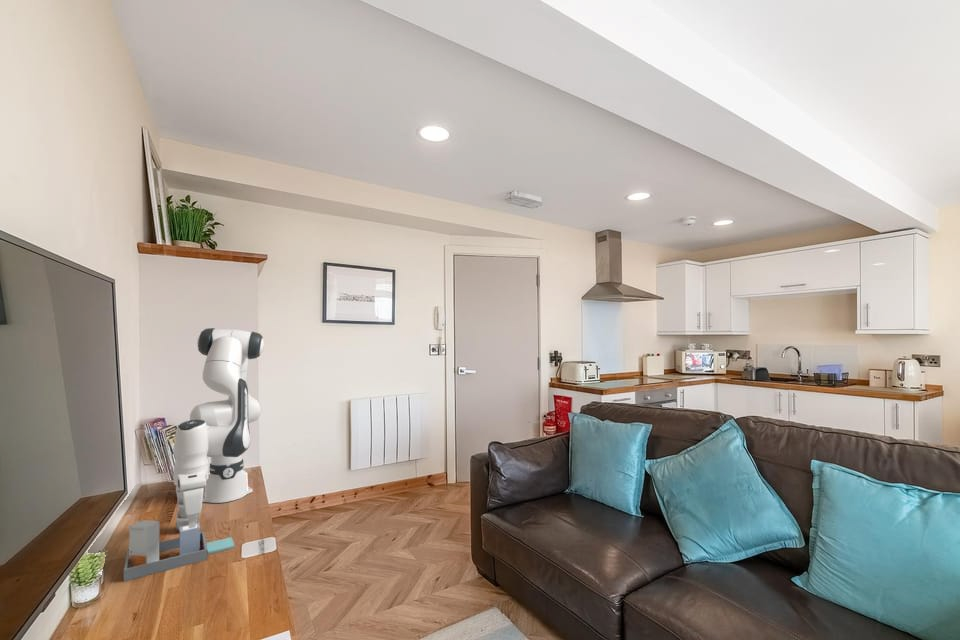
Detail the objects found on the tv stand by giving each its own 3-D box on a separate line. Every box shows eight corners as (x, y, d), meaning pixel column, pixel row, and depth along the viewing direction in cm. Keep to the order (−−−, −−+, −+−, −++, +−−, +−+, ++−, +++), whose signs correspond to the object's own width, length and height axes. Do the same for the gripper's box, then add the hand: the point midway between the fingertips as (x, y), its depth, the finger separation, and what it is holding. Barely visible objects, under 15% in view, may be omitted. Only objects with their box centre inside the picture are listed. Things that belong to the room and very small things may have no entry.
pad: (206, 545, 139) (206, 543, 139) (231, 538, 143) (231, 537, 143) (208, 554, 133) (207, 552, 133) (234, 547, 137) (234, 545, 137)
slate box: (179, 553, 134) (179, 526, 134) (199, 548, 137) (199, 522, 137) (179, 559, 131) (180, 531, 131) (199, 554, 133) (200, 527, 134)
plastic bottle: (202, 528, 151) (203, 469, 151) (180, 535, 145) (181, 474, 146) (193, 523, 155) (194, 465, 155) (171, 531, 149) (172, 471, 149)
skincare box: (128, 568, 126) (128, 525, 126) (141, 560, 130) (142, 519, 130) (147, 570, 125) (147, 527, 125) (160, 562, 129) (160, 520, 129)
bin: (127, 559, 131) (127, 548, 131) (204, 540, 142) (204, 531, 142) (123, 581, 119) (123, 570, 119) (207, 559, 130) (207, 549, 130)
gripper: (177, 469, 141) (177, 513, 140) (179, 486, 124) (179, 536, 124) (201, 465, 144) (201, 508, 144) (206, 481, 128) (206, 530, 127)
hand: (191, 521), depth 134 cm, fingers open, 8 cm apart
